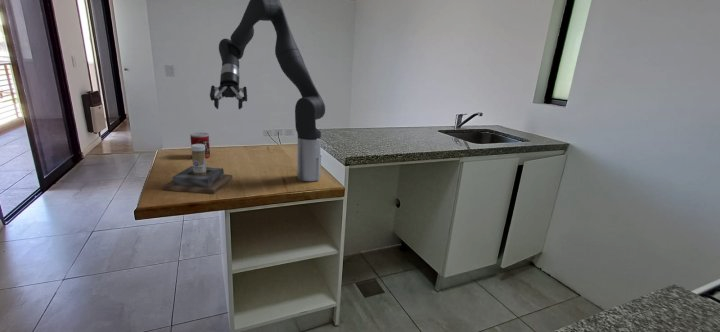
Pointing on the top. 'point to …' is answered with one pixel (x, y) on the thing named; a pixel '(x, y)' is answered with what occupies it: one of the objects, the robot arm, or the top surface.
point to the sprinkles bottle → (199, 159)
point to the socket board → (200, 189)
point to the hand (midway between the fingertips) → (228, 107)
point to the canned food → (201, 141)
